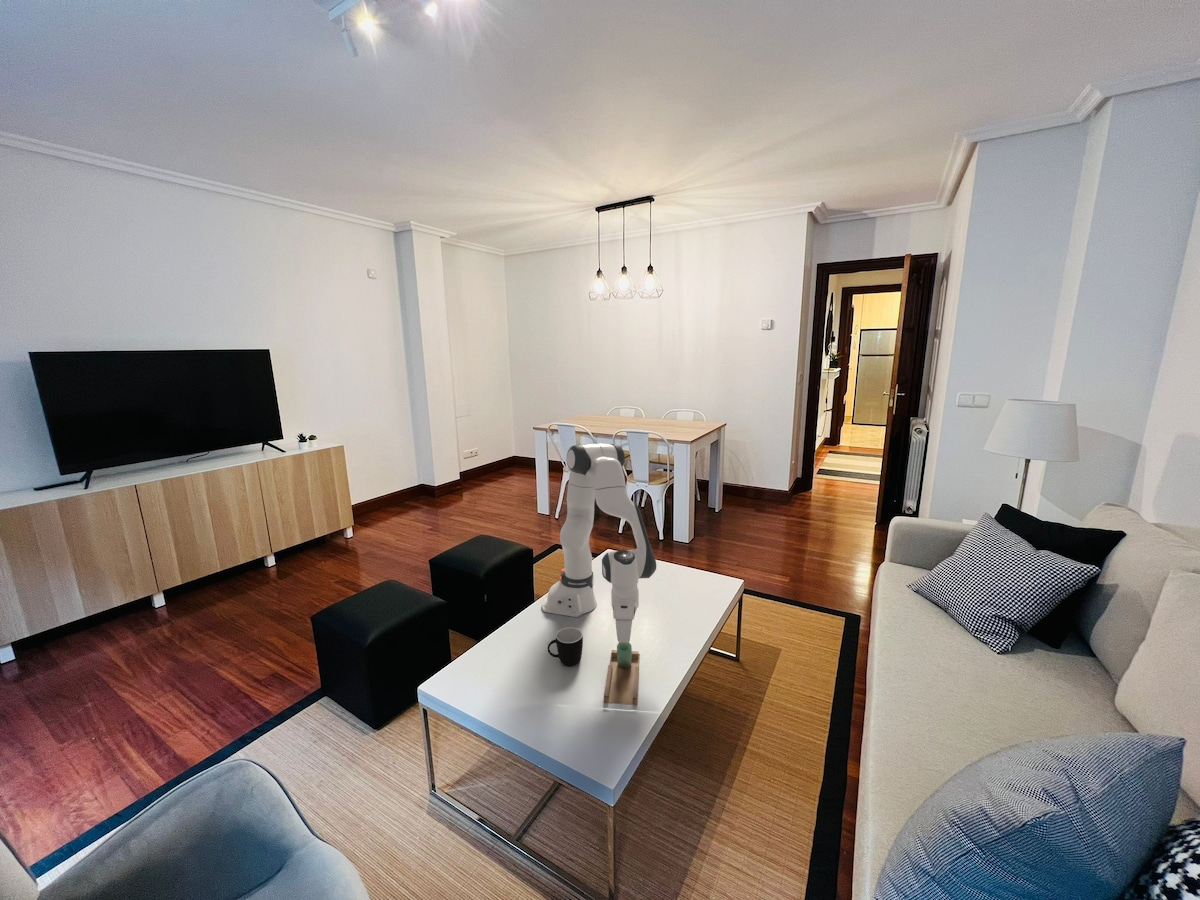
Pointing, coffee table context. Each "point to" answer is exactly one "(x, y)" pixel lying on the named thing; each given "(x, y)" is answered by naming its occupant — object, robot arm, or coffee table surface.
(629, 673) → the rest
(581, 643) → the mug
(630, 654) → the bottle
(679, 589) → the coffee table surface
